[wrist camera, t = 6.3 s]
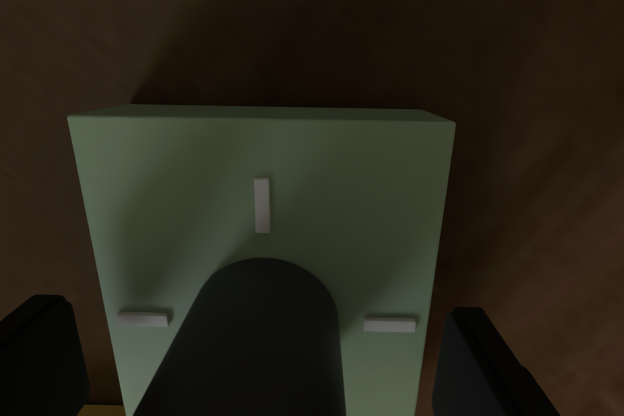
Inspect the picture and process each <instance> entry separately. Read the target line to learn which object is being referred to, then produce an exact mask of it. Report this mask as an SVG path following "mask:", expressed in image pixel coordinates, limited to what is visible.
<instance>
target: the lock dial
mask: <svg viewBox="0 0 624 416" xmlns="http://www.w3.org/2000/svg"><path fill="white" fill-rule="evenodd" d="M133 416H346V404H345V392H344V380H343V367H342V355H341V343H340V331H339V319H338V312H337V308H336V305H335V302H334V300H333V298H332V296H331V294H330V292H329V291H328V290H327V288H326V287H325V285H324V284H323V283H322V282H321V281H320V280H319V279H318V278H317V277H315V276H314V275H313V274H312V273H310V272H309V271H307V270H305V269H304V268H302V267H300V266H298V265H296V264H293V263H290V262H287V261H284V260H279V259H274V258H251V259H245V260H241V261H238V262H234V263H232V264H230V265H227V266H225V267H224V268H222V269H220V270H219V271H217V272H216V273H215V274H213V275H212V276H211V277H210V278H209V279H208V280H207V281H206V282H205V283H204V285H203V286H202V288H201V289H200V291H199V293H198V295H197V296H196V298H195V300H194V302H193V304H192V306H191V308H190V309H189V311H188V313H187V315H186V317H185V319H184V321H183V323H182V324H181V326H180V328H179V330H178V332H177V334H176V336H175V337H174V339H173V341H172V343H171V345H170V347H169V349H168V350H167V352H166V354H165V356H164V358H163V360H162V362H161V364H160V365H159V367H158V369H157V371H156V373H155V375H154V377H153V378H152V380H151V382H150V384H149V386H148V388H147V390H146V391H145V393H144V395H143V397H142V399H141V401H140V403H139V405H138V406H137V408H136V410H135V412H134V414H133Z"/></svg>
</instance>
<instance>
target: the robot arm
mask: <svg viewBox="0 0 624 416" xmlns="http://www.w3.org/2000/svg"><path fill="white" fill-rule="evenodd" d="M89 393H90V384H89V380H88V375H87V371H86V366H85V362H84V357H83V353H82V348H81V344H80V339H79V335H78V330H77V326H76V321H75V317H74V312H73V308H72V305H71V303H70V302H67V301H66V299H65V298H64V297H63V296H61V295H34V296H32V297H30V298H29V299H28V300H27V301H25V302H24V303H23V304H21V305H20V306H19V307H18V308H16V309H15V310H14V311H13V312H11V313H10V314H9V315H8V316H6V317H5V318H4V319H3V320H1V321H0V416H77V415H78V413H79V412H80V410H81V409H82V408H83V406H84V405H85V403H86V401H87V399H88V397H89ZM432 406H433V412H434V415H435V416H560V415H559V413H558V412H557V410H556V409H555V408H554V406H553V405H552V403H551V402H550V400H549V399H548V398H547V396H546V395H545V393H544V392H543V390H542V389H541V388H540V386H539V385H538V383H537V382H536V380H535V379H534V378H533V376H532V375H531V373H530V372H529V371H528V370H527V369H526V368H525V367H523V366H521V364H520V363H519V361H518V360H517V359H516V357H515V356H514V354H513V353H512V351H511V350H510V348H509V347H508V345H507V344H506V343H505V341H504V340H503V338H502V337H501V335H500V334H499V332H498V331H497V329H496V328H495V327H494V325H493V324H492V322H491V321H490V319H489V318H488V316H487V315H486V313H485V312H484V311H483V310H482V308H479V307H456V308H455V309H454V311H453V313H447V315H446V319H445V325H444V331H443V336H442V342H441V348H440V354H439V360H438V366H437V372H436V378H435V384H434V390H433V395H432Z"/></svg>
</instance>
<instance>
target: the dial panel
mask: <svg viewBox="0 0 624 416" xmlns="http://www.w3.org/2000/svg"><path fill="white" fill-rule="evenodd" d="M67 119H68V124H69V129H70V134H71V139H72V144H73V149H74V154H75V159H76V164H77V169H78V174H79V179H80V185H81V190H82V195H83V200H84V205H85V210H86V215H87V220H88V225H89V230H90V235H91V240H92V245H93V250H94V256H95V261H96V266H97V271H98V276H99V281H100V286H101V291H102V296H103V301H104V306H105V311H106V316H107V321H108V327H109V332H110V337H111V342H112V347H113V352H114V357H115V362H116V367H117V372H118V377H119V382H120V387H121V392H122V398H123V403H124V408H125V413H126V416H133V414H134V412H135V410H136V408H137V406H138V405H139V403H140V401H141V399H142V397H143V395H144V393H145V391H146V390H147V388H148V386H149V384H150V382H151V380H152V378H153V377H154V375H155V373H156V371H157V369H158V367H159V365H160V364H161V362H162V360H163V358H164V356H165V354H166V352H167V350H168V349H169V347H170V345H171V343H172V341H173V339H174V337H175V336H176V334H177V332H178V330H179V328H180V326H181V324H182V323H183V321H184V319H185V317H186V315H187V313H188V311H189V309H190V308H191V306H192V304H193V302H194V300H195V298H196V296H197V295H198V293H199V291H200V289H201V288H202V286H203V285H204V283H205V282H206V281H207V280H208V279H209V278H210V277H211V276H212V275H213V274H215V273H216V272H217V271H219V270H220V269H222V268H224V267H225V266H227V265H230V264H232V263H234V262H238V261H241V260H245V259H251V258H274V259H279V260H284V261H287V262H290V263H293V264H296V265H298V266H300V267H302V268H304V269H305V270H307V271H309V272H310V273H312V274H313V275H314V276H315V277H317V278H318V279H319V280H320V281H321V282H322V283H323V284H324V285H325V287H326V288H327V290H328V291H329V292H330V294H331V296H332V298H333V300H334V302H335V305H336V308H337V312H338V319H339V331H340V343H341V355H342V367H343V380H344V392H345V404H346V416H415V410H416V403H417V396H418V389H419V382H420V374H421V367H422V360H423V353H424V346H425V339H426V332H427V325H428V318H429V311H430V304H431V297H432V290H433V283H434V276H435V269H436V262H437V255H438V248H439V241H440V233H441V226H442V219H443V212H444V205H445V198H446V191H447V184H448V177H449V170H450V163H451V156H452V149H453V142H454V135H455V128H456V123H455V122H453V121H451V120H448V119H445V118H443V117H440V116H437V115H435V114H432V113H430V112H427V111H424V110H422V109H368V108H312V107H256V106H200V105H144V104H126V105H121V106H115V107H110V108H104V109H98V110H93V111H87V112H82V113H76V114H71V115H68V117H67Z"/></svg>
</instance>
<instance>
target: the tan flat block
mask: <svg viewBox="0 0 624 416" xmlns="http://www.w3.org/2000/svg"><path fill="white" fill-rule="evenodd" d="M77 416H126V413H125V408H124V405H84V406H83V408H82V409H81V410H80V412H79V413H78V415H77Z"/></svg>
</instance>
